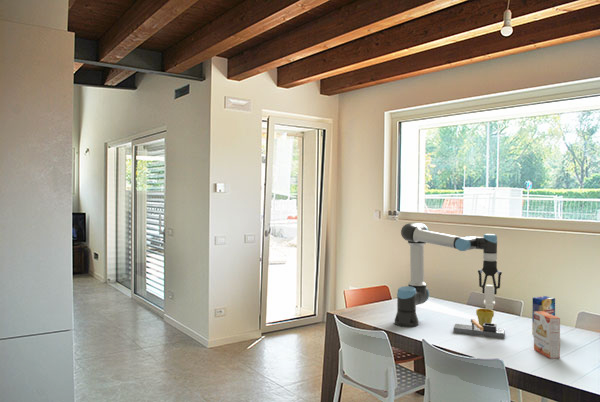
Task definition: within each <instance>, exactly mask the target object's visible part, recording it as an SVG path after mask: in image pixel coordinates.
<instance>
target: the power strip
mask: <svg viewBox="0 0 600 402" xmlns="http://www.w3.org/2000/svg"><path fill="white" fill-rule="evenodd" d="M505 332H506V329H505V328H497V323H492V322H491V323H484V324H483V330H480V329H479V328H478V327H477V326H475V325H474V329H472V324H462V323H461V324H460V323H455V324H454V325H453V333H455V334H462V335H470V336H476V337H477V336H478V337H486V338H493V339H501V340H503V339H505Z"/></svg>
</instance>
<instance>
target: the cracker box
mask: <svg viewBox="0 0 600 402" xmlns="http://www.w3.org/2000/svg"><path fill="white" fill-rule="evenodd" d="M533 349H534V351H536V352H538V353H539V354H541V355H542V356H545V357H547V359H560V358H561V318H560V317H558V316H556V315H555V316H554V315H551V314H549V313H546V312H544V311H535V312H534V335H533Z"/></svg>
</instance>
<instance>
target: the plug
mask: <svg viewBox="0 0 600 402" xmlns="http://www.w3.org/2000/svg"><path fill="white" fill-rule="evenodd" d="M485 288H486V299H484V300H483V305H484V306H485V308H484V309H489V310H493V309H494V306H495V305H496V301H495V300H493V288H494V284H485ZM493 311H494V310H493Z"/></svg>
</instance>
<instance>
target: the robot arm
mask: <svg viewBox="0 0 600 402" xmlns="http://www.w3.org/2000/svg"><path fill="white" fill-rule="evenodd" d="M400 234H401V237H402V238H403V239H404V240H405V241H407V244H408V245H409V246H410V250H409V251H410V253H409V255H410V257H409V258H410V265H409V266H410V281H409V282H408V285H407V286H406V285H405V286H401V287H399V288H397V293H396V296H397V297H396V299H397V300H396V301H397V303H396V305H397V306H396V307H397V311H396V314H395V318H394V325H396V324H397V325H396V326H398V325H399V327H403V326H404V327H405V328H406V327H407V328H413V327H415V328H416V327H418V326H419V318H418V315H417V312H416V311H417V306H418V305H422V304H424V303H426V302H427V301H428V300H429V298H430V291H429V289H428V288H427V283H426V282H425V280H424V279H425V277H424V276H425V270H424V268H425V265H424V264H425V263H424V260H425V259H424V258H425V257H424V255H425V254H424V252H425V251H424V246H425V245H426V243H427V244H432V245H437V246H440V247H446V248H452V249H456V250H458V251H460V252H466V251H470V250H482V252H483V255H482V256H483V257H482V259H483V261H482V262H483V263H482V264H483V265H482V268H480V269H478V270H477V272H478V283H479V284H478V287H480V288H482V291H481V292H482V294H484V298H483V299H484V300H486V283H487V280H488V277H491V279H492V283H493V284H492V285H493V301H495V298H496V297H495V296H496V295H497V291H498V289H500V288H501V279H502V277H501V276H502V274H503V272H502V271H501V270H498V266H497V264H498V261H497V260H498V236H497V235H496V234H494V233H484V234H483V236H472V235H466V236H464V237H463V236H458V235H452V234H448V233H442V232H441V233H440V232H436V231H431V230H429V228H428V226H427V225H426V224H424V223H422V222H411V223H406V224H404V225H402V227H401V229H400ZM482 273H483V274H484V279H483V280H482V277H483V276H482ZM495 274H497V275H498V277H497V281H496V278H495V277H496V276H495Z"/></svg>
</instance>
